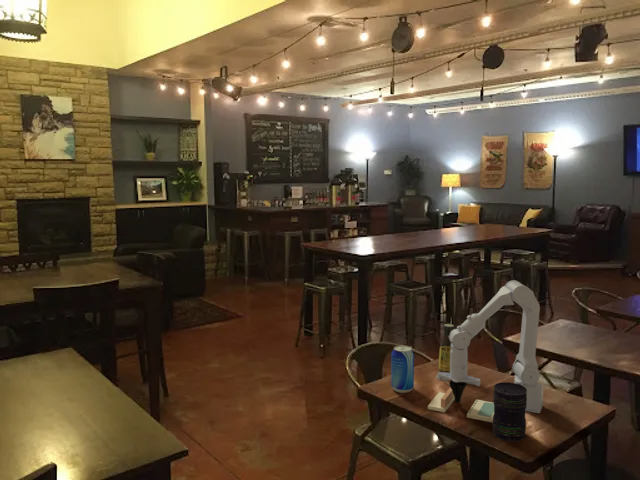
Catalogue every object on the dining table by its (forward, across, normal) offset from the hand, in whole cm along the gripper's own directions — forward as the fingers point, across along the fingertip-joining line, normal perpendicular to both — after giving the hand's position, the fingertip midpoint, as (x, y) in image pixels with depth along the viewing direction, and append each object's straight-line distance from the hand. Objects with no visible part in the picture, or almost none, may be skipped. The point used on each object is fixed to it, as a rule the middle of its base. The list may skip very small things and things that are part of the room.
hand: (458, 401), depth 194 cm
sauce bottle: (+2, -13, +30) cm, 33 cm away
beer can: (+2, -23, +6) cm, 24 cm away
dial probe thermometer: (+3, -10, +20) cm, 22 cm away
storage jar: (+2, +19, -12) cm, 23 cm away
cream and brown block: (+2, -6, 0) cm, 6 cm away
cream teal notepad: (+2, +9, 0) cm, 10 cm away
